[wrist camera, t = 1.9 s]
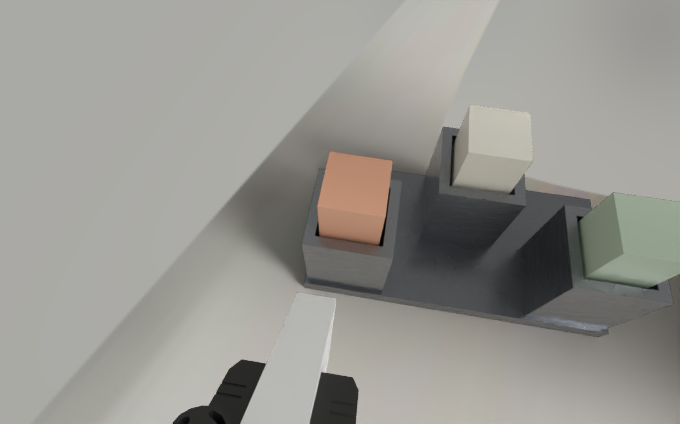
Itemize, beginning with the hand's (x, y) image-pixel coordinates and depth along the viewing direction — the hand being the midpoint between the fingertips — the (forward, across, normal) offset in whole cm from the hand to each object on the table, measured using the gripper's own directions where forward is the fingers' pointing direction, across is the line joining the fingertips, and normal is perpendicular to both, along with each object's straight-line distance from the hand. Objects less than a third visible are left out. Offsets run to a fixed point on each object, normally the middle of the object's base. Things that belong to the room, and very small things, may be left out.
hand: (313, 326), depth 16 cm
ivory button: (+23, +10, +1) cm, 25 cm away
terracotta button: (+19, 0, -3) cm, 19 cm away
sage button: (+19, +19, -3) cm, 27 cm away
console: (+25, +10, -4) cm, 27 cm away
